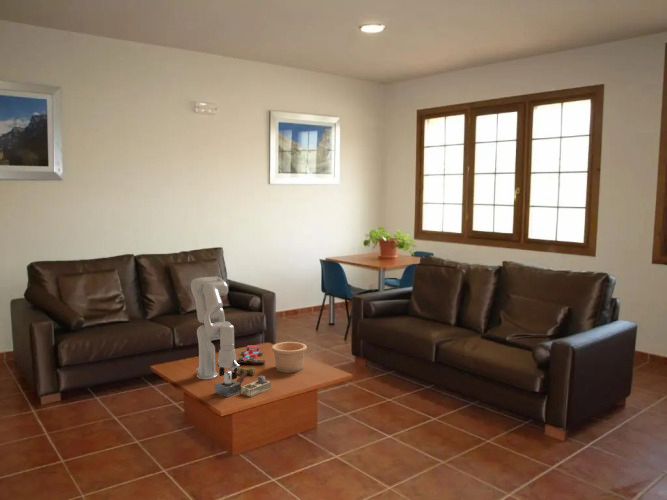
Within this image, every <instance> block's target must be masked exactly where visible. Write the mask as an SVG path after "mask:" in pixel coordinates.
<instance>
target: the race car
mask: <svg viewBox="0 0 667 500" xmlns="http://www.w3.org/2000/svg"><path fill="white" fill-rule="evenodd" d="M260 347H261V346H260V345H251V344H250V345H249V344H248V345H247V347H246V351H243V350H242V351H241V356H240V357H239V358H238V361H239V360H254V358H255V359H256V358H257V357H262V356H263V355H264V353H263V352H262V351H261V350H260V349H261V348H260Z"/></svg>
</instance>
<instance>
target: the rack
mask: <svg viewBox="0 0 667 500" xmlns="http://www.w3.org/2000/svg"><path fill="white" fill-rule="evenodd" d="M271 389H272V381H269V380H266V376H265V375H258V377H257V380H254V381H252V382H250V383H248V384H245V385H241V392H240V394H241V395H243V396H246V397H250V398H252V397H255V396H257V395H259V394H263V393H264V392H266V391H269V390H271Z"/></svg>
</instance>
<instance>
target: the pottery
mask: <svg viewBox="0 0 667 500" xmlns="http://www.w3.org/2000/svg"><path fill="white" fill-rule="evenodd" d="M307 349H308V347H307V344H305V343H302V342H298V341H297V342H296V341H282V342H278V343H275V344H272V346H271V350H272V351H273V354H274V355H273V356H274V362H275V369H276V371H277V372H280V373H285V374H286V373H287V374H289V373H291V374H292V373H298V372H300V371H302V370H303V366H304V361H305V353H306V351H307Z"/></svg>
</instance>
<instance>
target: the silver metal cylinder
mask: <svg viewBox="0 0 667 500" xmlns="http://www.w3.org/2000/svg"><path fill="white" fill-rule="evenodd" d="M223 376H224V377H223V381H224V385H225V386H230V385H232V382H231V381H232V370H224V375H223Z"/></svg>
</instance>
